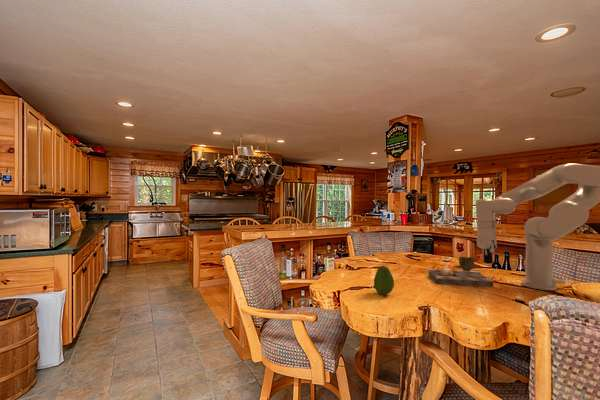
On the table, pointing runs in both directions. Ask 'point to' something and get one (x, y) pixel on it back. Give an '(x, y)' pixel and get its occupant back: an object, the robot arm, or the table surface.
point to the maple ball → (446, 272)
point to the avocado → (383, 281)
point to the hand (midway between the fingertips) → (488, 263)
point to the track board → (461, 278)
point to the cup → (466, 263)
